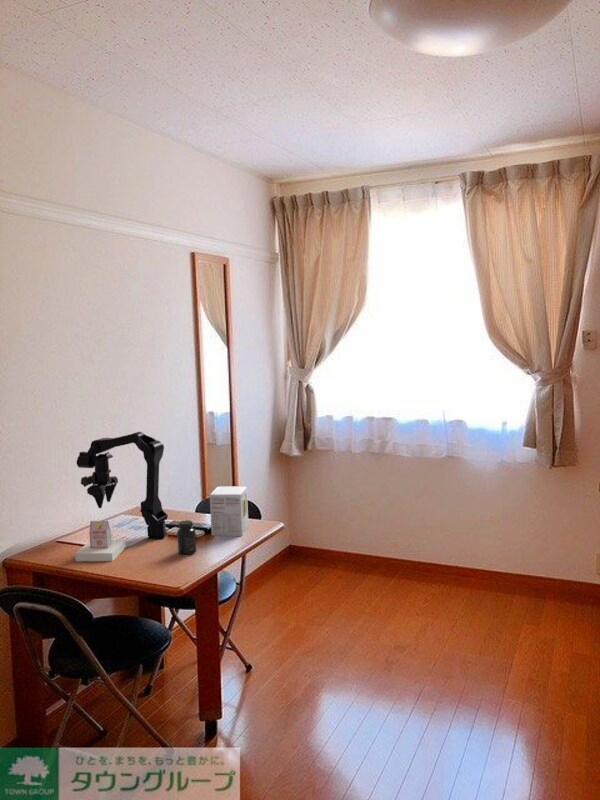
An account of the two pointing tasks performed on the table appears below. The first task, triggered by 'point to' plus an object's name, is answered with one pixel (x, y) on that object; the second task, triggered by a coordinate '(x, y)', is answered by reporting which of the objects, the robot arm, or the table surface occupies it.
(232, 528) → the supplement box
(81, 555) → the plinth
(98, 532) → the white paper carton
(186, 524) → the supplement bottle
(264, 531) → the table surface
